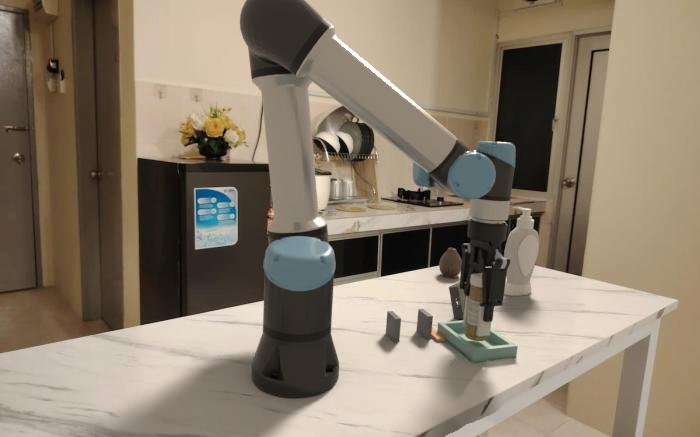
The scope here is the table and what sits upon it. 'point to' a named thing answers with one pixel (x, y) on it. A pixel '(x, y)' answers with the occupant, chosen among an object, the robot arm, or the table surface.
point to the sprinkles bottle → (474, 307)
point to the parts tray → (477, 343)
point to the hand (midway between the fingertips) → (475, 329)
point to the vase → (450, 263)
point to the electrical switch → (457, 300)
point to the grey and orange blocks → (422, 326)
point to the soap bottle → (521, 255)
